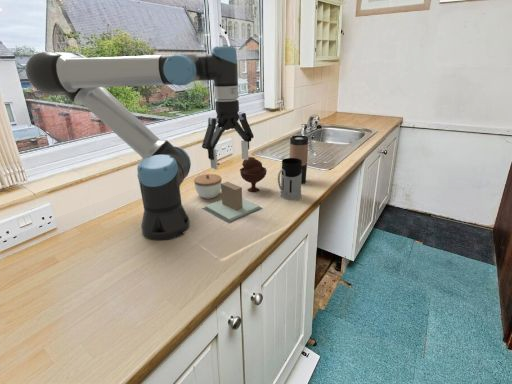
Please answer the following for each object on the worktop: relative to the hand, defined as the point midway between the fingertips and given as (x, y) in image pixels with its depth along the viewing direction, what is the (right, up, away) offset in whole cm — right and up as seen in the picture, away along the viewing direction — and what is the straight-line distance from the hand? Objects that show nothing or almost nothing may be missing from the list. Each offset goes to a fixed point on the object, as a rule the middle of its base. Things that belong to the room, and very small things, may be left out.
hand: (230, 163), depth 108 cm
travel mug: (+27, -5, +31) cm, 42 cm away
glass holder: (+21, -13, +15) cm, 29 cm away
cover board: (0, -16, +7) cm, 17 cm away
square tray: (0, -16, +7) cm, 18 cm away
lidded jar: (-10, -12, +19) cm, 24 cm away
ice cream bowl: (+8, -10, +22) cm, 26 cm away
